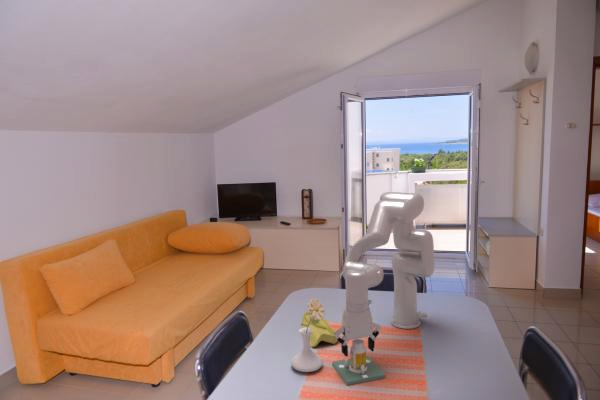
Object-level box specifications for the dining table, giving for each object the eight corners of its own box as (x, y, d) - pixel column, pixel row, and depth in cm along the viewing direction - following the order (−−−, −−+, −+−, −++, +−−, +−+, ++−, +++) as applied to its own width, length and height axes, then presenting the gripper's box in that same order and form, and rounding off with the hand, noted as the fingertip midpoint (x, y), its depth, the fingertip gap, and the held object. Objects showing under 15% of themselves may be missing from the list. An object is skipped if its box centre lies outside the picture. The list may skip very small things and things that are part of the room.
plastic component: (341, 338, 173) (320, 332, 169) (333, 354, 173) (312, 349, 169) (322, 316, 191) (302, 310, 187) (315, 331, 191) (295, 325, 188)
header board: (367, 358, 161) (367, 347, 160) (385, 377, 148) (385, 366, 147) (332, 364, 157) (331, 353, 157) (347, 385, 144) (346, 373, 143)
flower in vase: (300, 378, 149) (297, 308, 145) (286, 364, 159) (283, 298, 155) (333, 368, 155) (331, 300, 151) (317, 354, 165) (315, 291, 161)
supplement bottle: (347, 368, 152) (347, 342, 151) (355, 362, 156) (355, 336, 155) (361, 373, 149) (360, 346, 147) (369, 366, 153) (368, 340, 151)
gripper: (375, 297, 155) (376, 343, 158) (329, 305, 150) (331, 351, 153) (385, 305, 148) (385, 352, 150) (337, 313, 143) (338, 362, 146)
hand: (358, 352), depth 152 cm, fingers open, 9 cm apart
